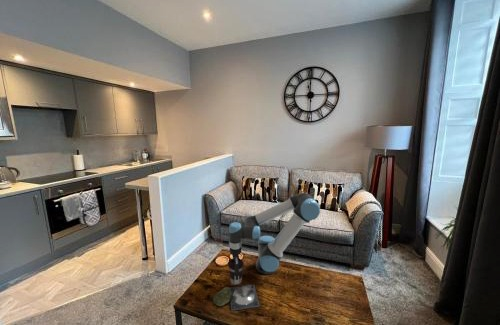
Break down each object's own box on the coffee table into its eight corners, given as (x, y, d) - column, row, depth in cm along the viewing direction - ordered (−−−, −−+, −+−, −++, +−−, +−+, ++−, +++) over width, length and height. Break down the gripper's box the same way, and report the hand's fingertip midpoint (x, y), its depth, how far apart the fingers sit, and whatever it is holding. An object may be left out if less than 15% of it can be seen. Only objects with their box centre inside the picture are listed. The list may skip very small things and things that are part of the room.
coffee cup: (246, 280, 140) (246, 260, 137) (235, 289, 132) (235, 268, 130) (236, 273, 146) (236, 254, 144) (225, 281, 139) (224, 261, 136)
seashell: (209, 302, 121) (216, 283, 125) (213, 301, 127) (220, 283, 132) (225, 309, 118) (232, 289, 122) (229, 308, 124) (235, 289, 129)
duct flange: (254, 285, 135) (254, 283, 135) (259, 306, 120) (259, 304, 120) (229, 289, 133) (229, 286, 132) (231, 311, 117) (231, 308, 117)
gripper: (228, 238, 145) (229, 268, 149) (230, 257, 124) (231, 291, 128) (239, 237, 146) (239, 267, 150) (243, 256, 125) (244, 289, 129)
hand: (236, 278), depth 139 cm, fingers closed on coffee cup, 8 cm apart
